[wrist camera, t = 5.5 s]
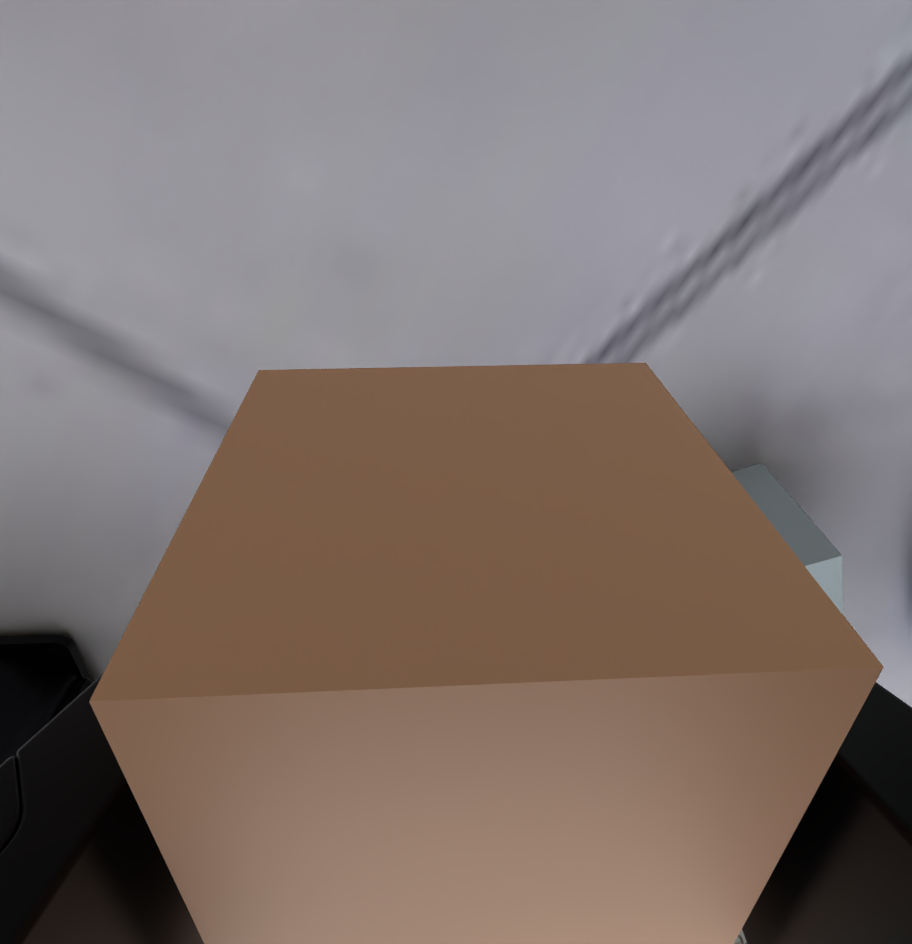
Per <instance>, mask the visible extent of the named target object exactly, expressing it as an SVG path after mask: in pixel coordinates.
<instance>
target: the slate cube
mask: <svg viewBox="0 0 912 944" xmlns="http://www.w3.org/2000/svg"><path fill="white" fill-rule="evenodd" d="M731 473H732V474H733V475H734V476H735V478H736V479H737V480H738V482H739V483H740V484H741V485H742V487H743V488H744V489H745V490H746V492H747V493H748V494H749V496H750V497H751V498H752V499H753V501H754V502H755V503H756V505H757V506H758V507H759V508H760V510H761V511H762V512H763V513H764V515H765V516H766V517H767V519H768V520H769V521H770V522H771V524H772V525H773V526H774V528H775V529H776V530H777V531H778V533H779V534H780V535H781V537H782V538H783V539H784V540H785V542H786V543H787V544H788V545H789V547H790V548H791V549H792V551H793V552H794V553H795V554H796V556H797V557H798V558H799V560H800V561H801V562H802V563H803V565H804V566H805V567H806V568H807V570H808V571H809V572H810V574H811V575H812V576H813V577H814V579H815V580H816V581H817V583H818V584H819V585H820V586H821V588H822V589H823V590H824V592H825V593H826V594H827V595H828V597H829V598H830V599H831V600H832V602H833V603H834V604H835V606H836V607H837V608H838V609H839V611H840V612H841V613H842V615H843V574H842V555H841V554H840V553H839V551H838V550H837V549H836V548H835V547H834V546H833V545H832V543H831V542H830V541H829V540H828V539H827V538H826V536H825V535H824V534H823V533H822V532H821V531H820V529H819V528H818V527H817V526H816V525H815V524H814V523H813V521H812V520H811V519H810V518H809V517H808V516H807V514H806V513H805V512H804V511H803V510H802V509H801V508H800V506H799V505H798V504H797V503H796V502H795V501H794V499H793V498H792V497H791V496H790V495H789V494H788V492H787V491H786V490H785V489H784V488H783V487H782V486H781V484H780V483H779V482H778V481H777V480H776V479H775V477H774V476H773V475H772V474H771V473H770V472H769V471H768V469H767V468H766V467H765V466H764V465H763V464H762V463H760V464H756V465H753V466H750V467H746V468H743V469H740V470H737V471H733V472H731Z"/></svg>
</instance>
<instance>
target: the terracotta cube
mask: <svg viewBox="0 0 912 944" xmlns="http://www.w3.org/2000/svg"><path fill="white" fill-rule="evenodd" d="M882 669H883V666H882V664H881V663H880V662H879V661H878V659H877V658H876V657H875V655H874V654H873V653H872V652H871V650H870V649H869V648H868V647H867V645H866V644H865V643H864V641H863V640H862V639H861V638H860V636H859V635H858V634H857V632H856V631H855V630H854V629H853V627H852V626H851V625H850V623H849V622H848V621H847V620H846V618H845V617H844V616H843V615H842V613H841V612H840V611H839V609H838V608H837V607H836V606H835V604H834V603H833V602H832V600H831V599H830V598H829V597H828V595H827V594H826V593H825V592H824V590H823V589H822V588H821V586H820V585H819V584H818V583H817V581H816V580H815V579H814V577H813V576H812V575H811V574H810V572H809V571H808V570H807V568H806V567H805V566H804V565H803V563H802V562H801V561H800V560H799V558H798V557H797V556H796V554H795V553H794V552H793V551H792V549H791V548H790V547H789V545H788V544H787V543H786V542H785V540H784V539H783V538H782V537H781V535H780V534H779V533H778V531H777V530H776V529H775V528H774V526H773V525H772V524H771V522H770V521H769V520H768V519H767V517H766V516H765V515H764V513H763V512H762V511H761V510H760V508H759V507H758V506H757V505H756V503H755V502H754V501H753V499H752V498H751V497H750V496H749V494H748V493H747V492H746V490H745V489H744V488H743V487H742V485H741V484H740V483H739V482H738V480H737V479H736V478H735V476H734V475H733V474H732V473H731V471H730V470H729V469H728V467H727V466H726V465H725V464H724V462H723V461H722V460H721V458H720V457H719V456H718V455H717V453H716V452H715V451H714V450H713V448H712V447H711V446H710V444H709V443H708V442H707V441H706V439H705V438H704V437H703V435H702V434H701V433H700V432H699V430H698V429H697V428H696V427H695V425H694V424H693V423H692V421H691V420H690V419H689V418H688V416H687V415H686V414H685V412H684V411H683V410H682V409H681V407H680V406H679V405H678V403H677V402H676V401H675V400H674V398H673V397H672V396H671V395H670V393H669V392H668V391H667V389H666V388H665V387H664V386H663V384H662V383H661V382H660V380H659V379H658V378H657V377H656V375H655V374H654V373H653V372H652V370H651V369H650V368H649V366H648V365H647V364H646V363H614V364H561V365H508V366H455V367H402V368H349V369H296V370H259V371H258V373H257V375H256V377H255V379H254V381H253V382H252V384H251V386H250V388H249V390H248V392H247V394H246V396H245V398H244V400H243V402H242V404H241V406H240V408H239V410H238V412H237V414H236V416H235V418H234V420H233V422H232V423H231V425H230V427H229V429H228V431H227V433H226V435H225V437H224V439H223V441H222V443H221V445H220V447H219V449H218V451H217V453H216V455H215V457H214V459H213V461H212V463H211V464H210V466H209V468H208V470H207V472H206V474H205V476H204V478H203V480H202V482H201V484H200V486H199V488H198V490H197V492H196V494H195V496H194V498H193V500H192V502H191V504H190V505H189V507H188V509H187V511H186V513H185V515H184V517H183V519H182V521H181V523H180V525H179V527H178V529H177V531H176V533H175V535H174V537H173V539H172V541H171V543H170V545H169V546H168V548H167V550H166V552H165V554H164V556H163V558H162V560H161V562H160V564H159V566H158V568H157V570H156V572H155V574H154V576H153V578H152V580H151V582H150V584H149V586H148V587H147V589H146V591H145V593H144V595H143V597H142V599H141V601H140V603H139V605H138V607H137V609H136V611H135V613H134V615H133V617H132V619H131V621H130V623H129V625H128V627H127V628H126V630H125V632H124V634H123V636H122V638H121V640H120V642H119V644H118V646H117V648H116V650H115V652H114V654H113V656H112V658H111V660H110V662H109V664H108V666H107V668H106V670H105V671H104V673H103V675H102V677H101V679H100V681H99V683H98V685H97V687H96V689H95V691H94V693H93V695H92V697H91V699H90V701H89V702H90V705H91V707H92V709H93V711H94V713H95V715H96V717H97V719H98V721H99V723H100V726H101V728H102V730H103V732H104V734H105V736H106V738H107V740H108V742H109V744H110V747H111V749H112V751H113V753H114V755H115V757H116V759H117V761H118V763H119V765H120V768H121V770H122V772H123V774H124V776H125V778H126V780H127V782H128V784H129V787H130V789H131V791H132V793H133V795H134V797H135V799H136V801H137V803H138V805H139V808H140V810H141V812H142V814H143V816H144V818H145V820H146V822H147V824H148V826H149V829H150V831H151V833H152V835H153V837H154V839H155V841H156V843H157V845H158V847H159V850H160V852H161V854H162V856H163V858H164V860H165V862H166V864H167V866H168V868H169V871H170V873H171V875H172V877H173V879H174V881H175V883H176V885H177V887H178V889H179V892H180V894H181V896H182V898H183V900H184V902H185V904H186V906H187V908H188V910H189V913H190V915H191V917H192V919H193V921H194V923H195V925H196V927H197V929H198V931H199V934H200V936H201V938H202V940H203V942H204V944H734V942H735V940H736V939H737V937H738V935H739V933H740V931H741V929H742V927H743V926H744V924H745V922H746V920H747V918H748V916H749V915H750V913H751V911H752V909H753V907H754V905H755V904H756V902H757V900H758V898H759V896H760V894H761V892H762V891H763V889H764V887H765V885H766V883H767V881H768V880H769V878H770V876H771V874H772V872H773V870H774V868H775V867H776V865H777V863H778V861H779V859H780V857H781V856H782V854H783V852H784V850H785V848H786V846H787V844H788V843H789V841H790V839H791V837H792V835H793V833H794V832H795V830H796V828H797V826H798V824H799V822H800V820H801V819H802V817H803V815H804V813H805V811H806V809H807V808H808V806H809V804H810V802H811V800H812V798H813V796H814V795H815V793H816V791H817V789H818V787H819V785H820V784H821V782H822V780H823V778H824V776H825V774H826V772H827V771H828V769H829V767H830V765H831V763H832V761H833V760H834V758H835V756H836V754H837V752H838V750H839V748H840V747H841V745H842V743H843V741H844V739H845V737H846V736H847V734H848V732H849V730H850V728H851V726H852V724H853V723H854V721H855V719H856V717H857V715H858V713H859V712H860V710H861V708H862V706H863V704H864V702H865V700H866V699H867V697H868V695H869V693H870V691H871V689H872V688H873V686H874V684H875V682H876V680H877V678H878V676H879V675H880V673H881V671H882Z"/></svg>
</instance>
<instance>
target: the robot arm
mask: <svg viewBox="0 0 912 944" xmlns="http://www.w3.org/2000/svg"><path fill="white" fill-rule="evenodd" d="M102 675H103V674H102ZM102 675H101V676H100V677H99V678H98V679H97V680H95V681H94V682H93V681H92V679H91V677H90V675H89V672H88V670H87V668H86V666H85V664H84V662H83V659H82V657H81V655H80V653H79V651H78V649H77V646H76V644H75V643H74V641H73V640H72V639H70V638H69V637H67V636H64V635H33V636H2V637H0V944H204V942H203V940H202V938H201V936H200V934H199V931H198V929H197V927H196V925H195V923H194V921H193V919H192V917H191V915H190V913H189V910H188V908H187V906H186V904H185V902H184V900H183V898H182V896H181V894H180V892H179V889H178V887H177V885H176V883H175V881H174V879H173V877H172V875H171V873H170V871H169V868H168V866H167V864H166V862H165V860H164V858H163V856H162V854H161V852H160V850H159V847H158V845H157V843H156V841H155V839H154V837H153V835H152V833H151V831H150V829H149V826H148V824H147V822H146V820H145V818H144V816H143V814H142V812H141V810H140V808H139V805H138V803H137V801H136V799H135V797H134V795H133V793H132V791H131V789H130V787H129V784H128V782H127V780H126V778H125V776H124V774H123V772H122V770H121V768H120V765H119V763H118V761H117V759H116V757H115V755H114V753H113V751H112V749H111V747H110V744H109V742H108V740H107V738H106V736H105V734H104V732H103V730H102V728H101V726H100V723H99V721H98V719H97V717H96V715H95V713H94V711H93V709H92V707H91V705H90V702H89V701H90V699H91V697H92V695H93V693H94V691H95V689H96V687H97V685H98V683H99V681H100V679H101V677H102ZM742 931H743V934H744V936H745V939H746V942H747V944H912V707H910V706H909V705H907V704H906V703H905V702H903V701H902V700H900V699H899V698H897V697H896V696H895V695H893V694H892V693H890V692H889V691H888V690H886V689H885V688H883V687H882V686H880V685H879V684H878V683H876V682H875V684H874V686H873V688H872V689H871V691H870V693H869V695H868V697H867V699H866V700H865V702H864V704H863V706H862V708H861V710H860V712H859V713H858V715H857V717H856V719H855V721H854V723H853V724H852V726H851V728H850V730H849V732H848V734H847V736H846V737H845V739H844V741H843V743H842V745H841V747H840V748H839V750H838V752H837V754H836V756H835V758H834V760H833V761H832V763H831V765H830V767H829V769H828V771H827V772H826V774H825V776H824V778H823V780H822V782H821V784H820V785H819V787H818V789H817V791H816V793H815V795H814V796H813V798H812V800H811V802H810V804H809V806H808V808H807V809H806V811H805V813H804V815H803V817H802V819H801V820H800V822H799V824H798V826H797V828H796V830H795V832H794V833H793V835H792V837H791V839H790V841H789V843H788V844H787V846H786V848H785V850H784V852H783V854H782V856H781V857H780V859H779V861H778V863H777V865H776V867H775V868H774V870H773V872H772V874H771V876H770V878H769V880H768V881H767V883H766V885H765V887H764V889H763V891H762V892H761V894H760V896H759V898H758V900H757V902H756V904H755V905H754V907H753V909H752V911H751V913H750V915H749V916H748V918H747V920H746V922H745V924H744V926H743V927H742Z"/></svg>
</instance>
